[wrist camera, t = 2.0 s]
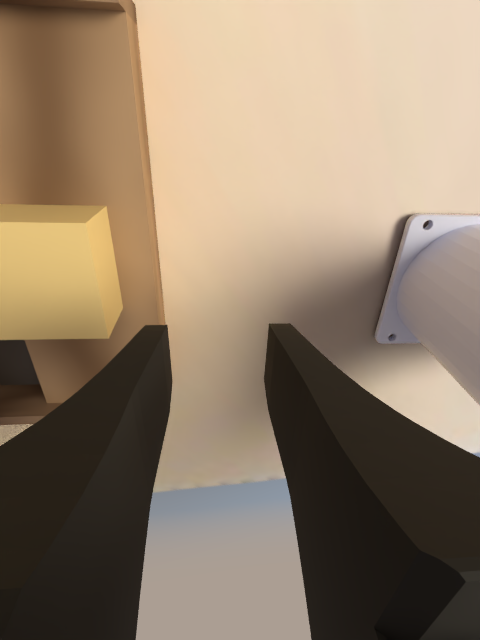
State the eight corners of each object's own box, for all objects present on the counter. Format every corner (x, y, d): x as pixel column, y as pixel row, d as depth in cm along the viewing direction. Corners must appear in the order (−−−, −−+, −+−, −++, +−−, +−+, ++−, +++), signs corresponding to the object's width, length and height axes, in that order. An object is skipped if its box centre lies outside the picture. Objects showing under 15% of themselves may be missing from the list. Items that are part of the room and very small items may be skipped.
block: (106, 205, 15) (85, 223, 12) (123, 307, 17) (108, 338, 15) (-16, 203, 14) (-63, 221, 12) (19, 308, 17) (-13, 340, 14)
